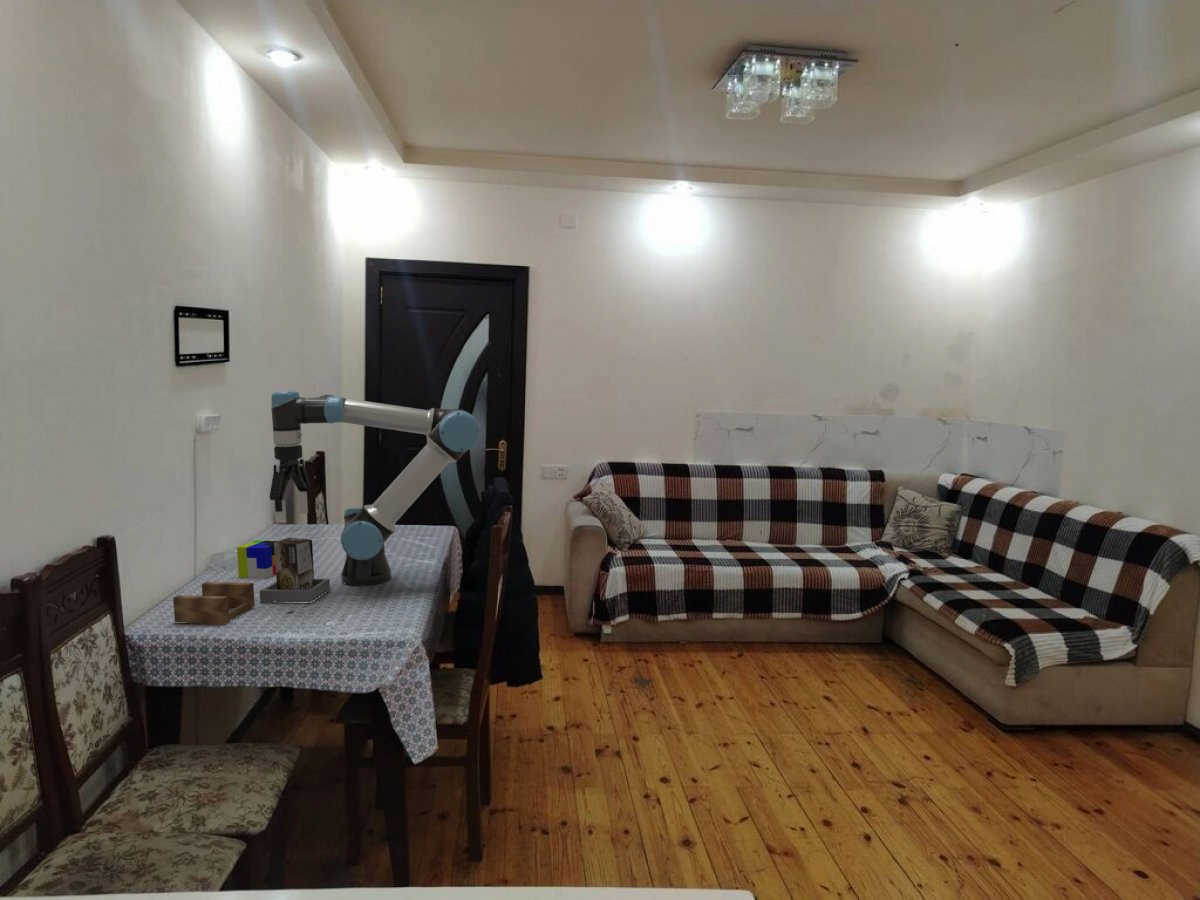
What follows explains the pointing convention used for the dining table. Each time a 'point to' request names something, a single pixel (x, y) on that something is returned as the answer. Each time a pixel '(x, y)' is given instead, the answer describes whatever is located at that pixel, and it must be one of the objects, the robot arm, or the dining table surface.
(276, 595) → the tray
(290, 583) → the coffee box
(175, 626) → the dining table surface
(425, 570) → the dining table surface
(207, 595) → the holder
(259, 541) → the puzzle toy
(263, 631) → the dining table surface
